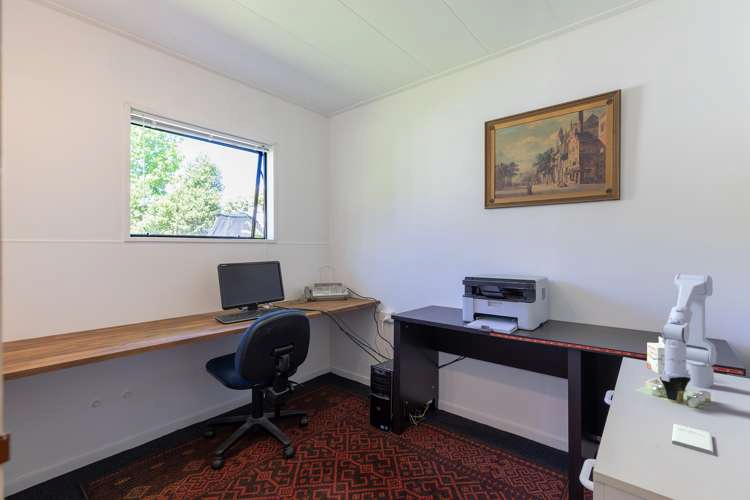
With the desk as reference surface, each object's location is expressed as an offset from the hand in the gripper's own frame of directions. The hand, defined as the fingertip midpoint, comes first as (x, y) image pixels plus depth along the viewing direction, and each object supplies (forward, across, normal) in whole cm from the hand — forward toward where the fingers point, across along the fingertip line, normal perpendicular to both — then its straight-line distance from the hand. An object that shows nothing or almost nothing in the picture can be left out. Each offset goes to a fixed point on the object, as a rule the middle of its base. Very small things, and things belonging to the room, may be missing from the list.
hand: (675, 398), depth 121 cm
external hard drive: (+2, -24, -14) cm, 28 cm away
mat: (+2, +6, +2) cm, 7 cm away
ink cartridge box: (+2, +30, +18) cm, 35 cm away
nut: (+1, 0, 0) cm, 1 cm away
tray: (+1, +10, +8) cm, 12 cm away
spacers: (+1, +4, 0) cm, 4 cm away
